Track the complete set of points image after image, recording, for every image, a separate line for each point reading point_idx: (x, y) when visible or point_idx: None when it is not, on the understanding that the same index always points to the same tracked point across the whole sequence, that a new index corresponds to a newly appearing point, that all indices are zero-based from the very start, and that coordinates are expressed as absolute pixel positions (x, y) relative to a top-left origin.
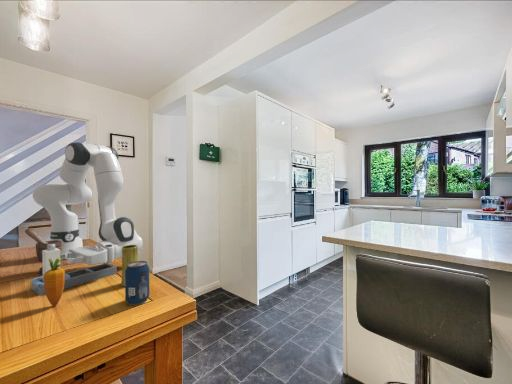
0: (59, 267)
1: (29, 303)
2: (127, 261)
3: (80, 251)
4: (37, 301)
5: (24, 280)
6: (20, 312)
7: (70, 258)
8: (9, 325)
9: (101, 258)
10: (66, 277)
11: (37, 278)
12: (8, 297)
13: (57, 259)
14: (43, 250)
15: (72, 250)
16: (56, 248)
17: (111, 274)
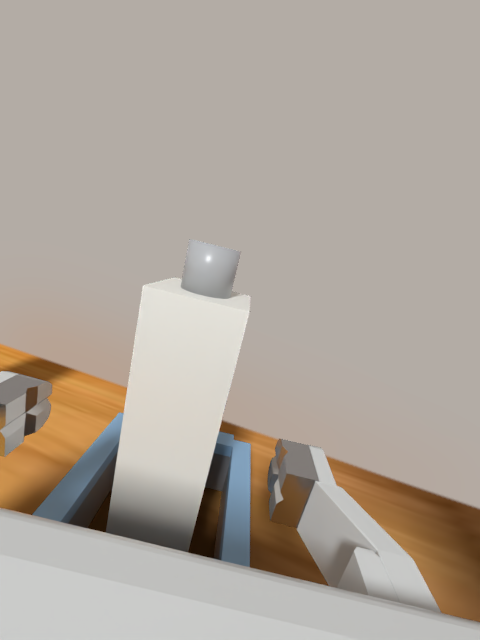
0: (123, 433)
1: (85, 413)
2: None
3: (54, 584)
4: (66, 426)
5: (429, 541)
6: (51, 382)
7: (23, 389)
8: (13, 353)
9: None
10: (40, 514)
11: (231, 449)
12: (221, 425)
13: None
14: (238, 293)
15: (435, 614)
16: (227, 305)
17: None
